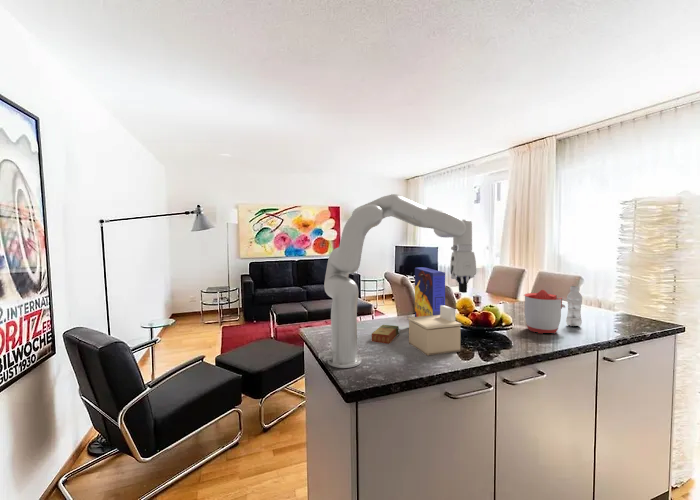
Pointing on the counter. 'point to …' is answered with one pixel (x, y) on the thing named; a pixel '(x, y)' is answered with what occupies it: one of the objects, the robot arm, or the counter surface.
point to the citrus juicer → (543, 312)
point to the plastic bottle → (574, 307)
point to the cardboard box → (434, 339)
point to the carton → (385, 334)
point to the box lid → (437, 319)
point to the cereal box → (429, 291)
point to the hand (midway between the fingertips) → (462, 292)
